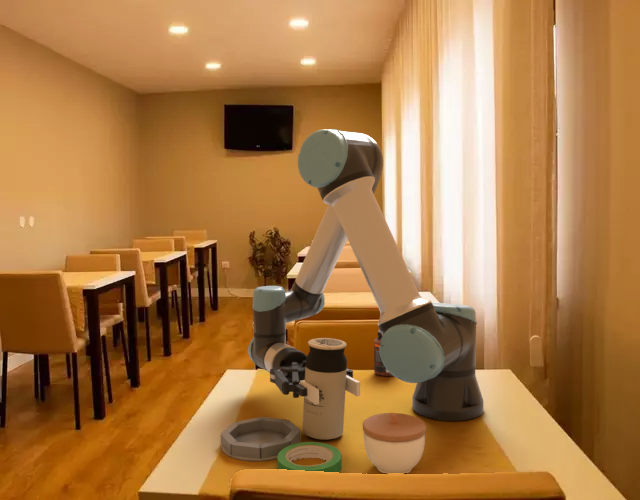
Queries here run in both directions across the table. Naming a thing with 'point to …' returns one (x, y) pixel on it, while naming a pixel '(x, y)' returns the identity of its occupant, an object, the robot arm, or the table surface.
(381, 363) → the supplement bottle
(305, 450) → the tape roll
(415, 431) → the lidded jar
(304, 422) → the travel mug
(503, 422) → the table surface
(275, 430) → the socket ring
